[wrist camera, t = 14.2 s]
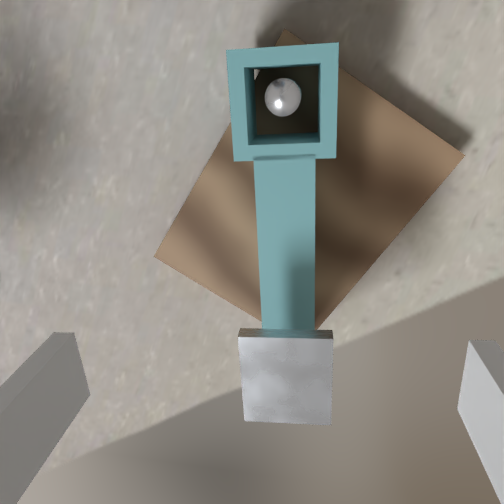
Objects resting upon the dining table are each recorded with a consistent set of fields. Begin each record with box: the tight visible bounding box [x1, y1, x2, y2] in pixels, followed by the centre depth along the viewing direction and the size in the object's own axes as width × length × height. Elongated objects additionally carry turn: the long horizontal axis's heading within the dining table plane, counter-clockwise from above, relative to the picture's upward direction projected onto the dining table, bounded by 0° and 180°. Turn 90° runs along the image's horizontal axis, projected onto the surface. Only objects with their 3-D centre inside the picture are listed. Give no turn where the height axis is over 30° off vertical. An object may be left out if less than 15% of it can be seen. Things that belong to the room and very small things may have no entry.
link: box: [226, 42, 339, 330], centre depth 31 cm, size 20×7×6 cm, turn 3°
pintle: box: [265, 78, 302, 116], centre depth 28 cm, size 2×2×7 cm
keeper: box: [238, 328, 333, 425], centre depth 33 cm, size 7×6×12 cm
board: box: [154, 28, 465, 330], centre depth 34 cm, size 21×16×2 cm
